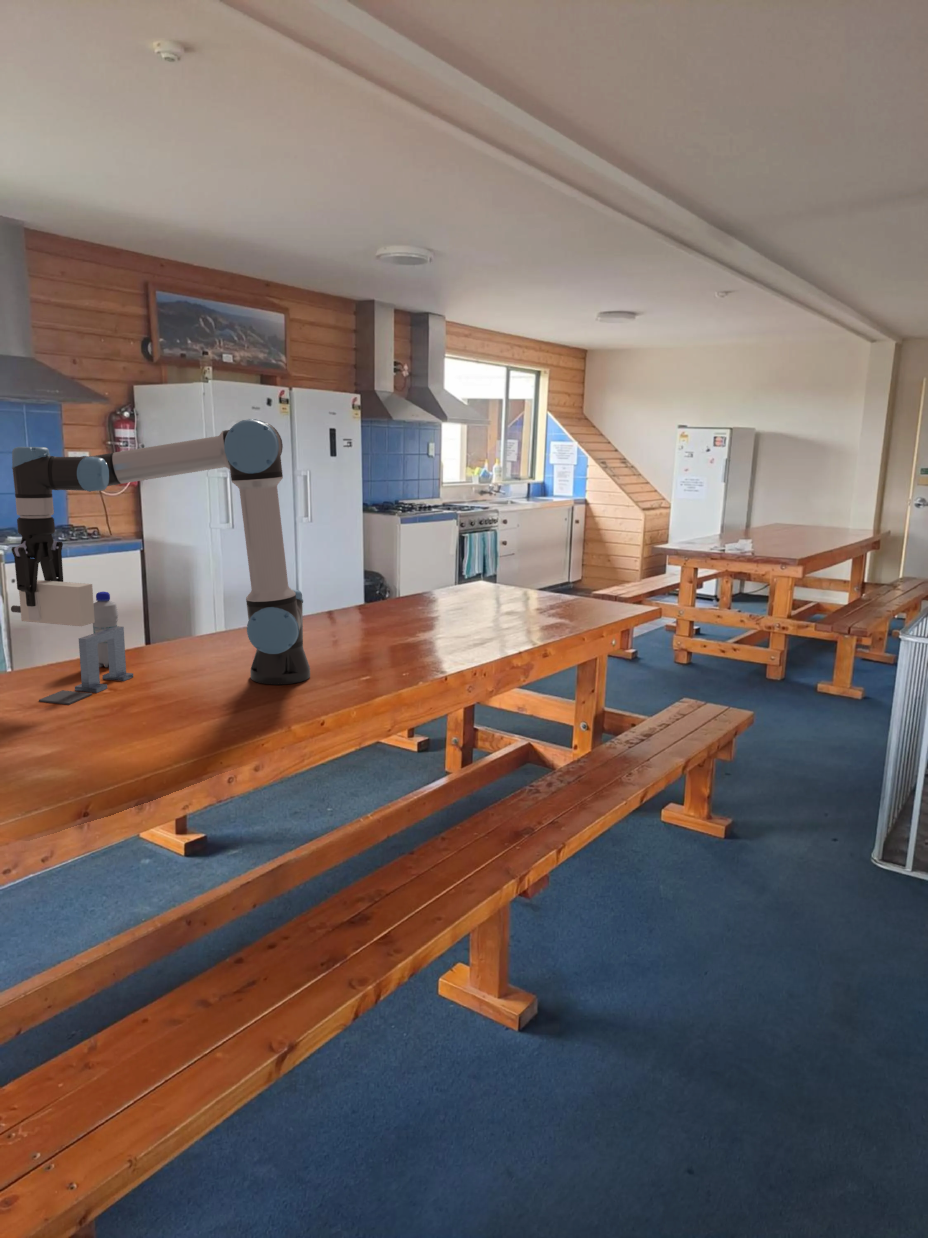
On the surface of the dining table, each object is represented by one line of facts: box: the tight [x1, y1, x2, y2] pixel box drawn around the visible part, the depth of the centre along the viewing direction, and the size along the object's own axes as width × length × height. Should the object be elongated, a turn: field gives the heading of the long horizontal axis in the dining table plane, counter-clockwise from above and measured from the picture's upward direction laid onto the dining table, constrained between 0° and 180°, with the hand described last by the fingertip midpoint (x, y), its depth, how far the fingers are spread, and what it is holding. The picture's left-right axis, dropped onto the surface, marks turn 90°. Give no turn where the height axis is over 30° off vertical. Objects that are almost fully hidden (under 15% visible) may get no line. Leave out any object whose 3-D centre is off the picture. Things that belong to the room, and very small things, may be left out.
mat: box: [38, 689, 93, 705], centre depth 195 cm, size 8×8×1 cm
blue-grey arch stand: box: [74, 625, 134, 694], centre depth 206 cm, size 6×14×13 cm, turn 167°
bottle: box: [92, 591, 119, 668], centre depth 222 cm, size 7×7×20 cm
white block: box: [10, 579, 95, 627], centre depth 193 cm, size 20×4×9 cm, turn 76°
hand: (43, 617), depth 194 cm, fingers closed on white block, 4 cm apart
